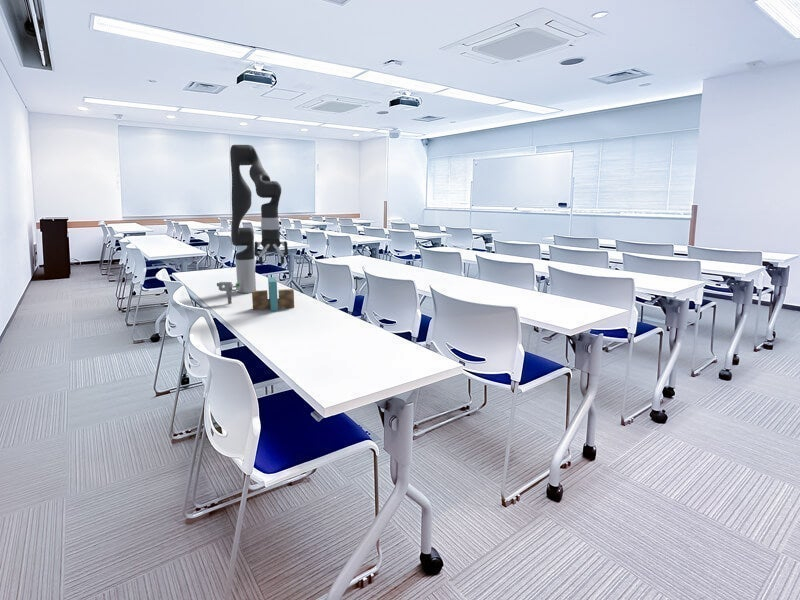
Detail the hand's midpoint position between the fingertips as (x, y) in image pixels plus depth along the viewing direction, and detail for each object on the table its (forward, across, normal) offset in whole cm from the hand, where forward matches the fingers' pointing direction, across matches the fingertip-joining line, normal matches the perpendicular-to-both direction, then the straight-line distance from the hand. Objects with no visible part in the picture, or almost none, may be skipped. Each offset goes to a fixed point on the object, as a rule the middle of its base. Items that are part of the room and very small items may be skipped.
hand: (271, 265), depth 211 cm
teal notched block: (+20, 0, 0) cm, 20 cm away
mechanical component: (+20, -19, +14) cm, 31 cm away
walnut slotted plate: (+20, 0, 0) cm, 20 cm away
